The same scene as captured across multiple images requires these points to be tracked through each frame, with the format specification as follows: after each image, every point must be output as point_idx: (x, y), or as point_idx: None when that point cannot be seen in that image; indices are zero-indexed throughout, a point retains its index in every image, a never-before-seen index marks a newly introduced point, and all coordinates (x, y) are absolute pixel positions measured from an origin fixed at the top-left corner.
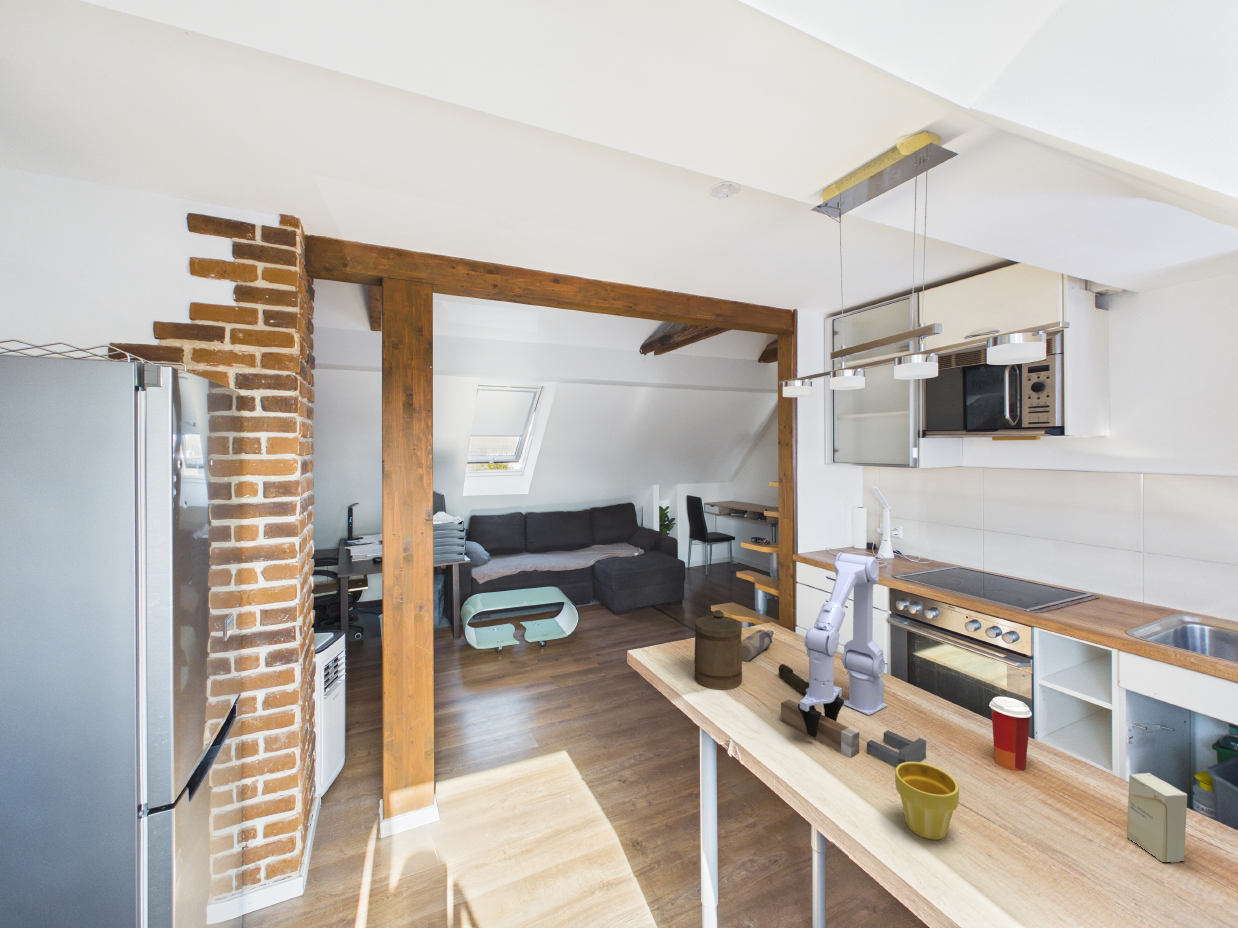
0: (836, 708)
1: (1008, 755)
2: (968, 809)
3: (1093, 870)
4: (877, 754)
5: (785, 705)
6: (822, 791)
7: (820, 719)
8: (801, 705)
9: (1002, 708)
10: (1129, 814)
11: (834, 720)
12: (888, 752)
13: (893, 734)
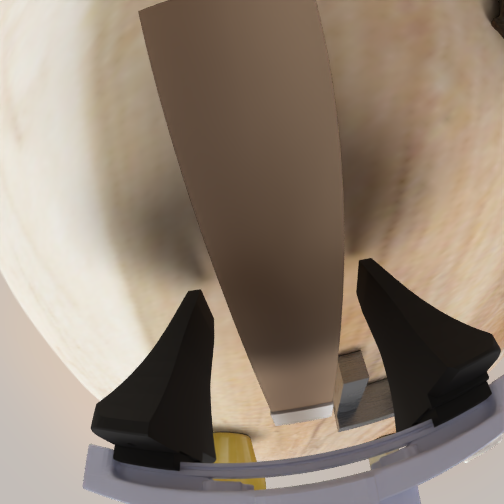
0: (394, 393)
1: None
2: (312, 432)
3: (315, 451)
4: (336, 379)
5: (153, 69)
6: (115, 387)
7: (279, 351)
8: (93, 466)
9: (468, 459)
10: (385, 454)
11: (370, 329)
12: (339, 406)
13: None
